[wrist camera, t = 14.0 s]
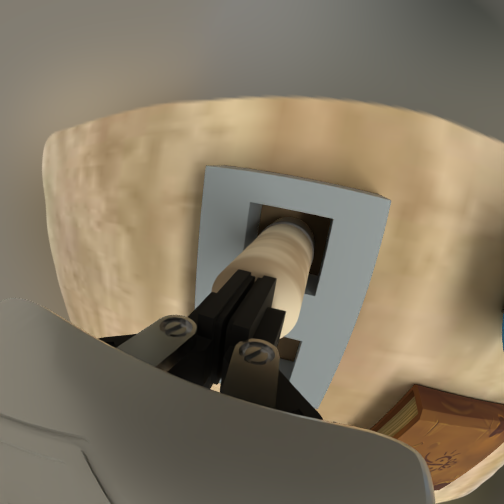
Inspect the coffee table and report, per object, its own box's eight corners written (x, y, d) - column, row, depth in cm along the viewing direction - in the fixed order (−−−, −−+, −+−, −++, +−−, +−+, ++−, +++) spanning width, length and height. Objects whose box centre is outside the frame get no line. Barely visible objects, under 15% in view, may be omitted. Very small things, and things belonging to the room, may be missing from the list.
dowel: (323, 253, 22) (313, 335, 11) (277, 266, 24) (230, 349, 13) (307, 206, 22) (282, 247, 11) (260, 221, 23) (195, 273, 12)
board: (321, 382, 26) (317, 408, 23) (208, 351, 29) (193, 373, 25) (380, 194, 20) (391, 200, 16) (226, 165, 22) (205, 165, 19)
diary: (509, 401, 20) (520, 426, 15) (436, 466, 27) (439, 489, 22) (415, 379, 24) (424, 416, 18) (335, 455, 31) (332, 485, 25)
